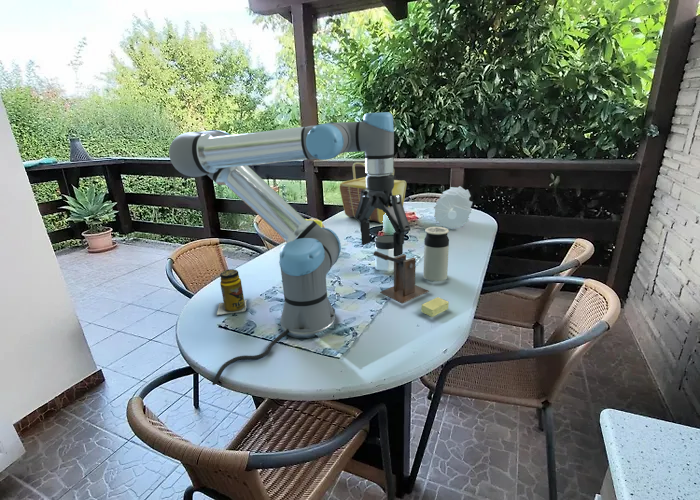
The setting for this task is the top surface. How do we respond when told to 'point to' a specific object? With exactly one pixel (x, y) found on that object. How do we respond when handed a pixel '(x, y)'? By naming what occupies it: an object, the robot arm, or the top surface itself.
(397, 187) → the picnic basket
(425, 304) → the butter
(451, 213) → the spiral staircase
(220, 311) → the condiment
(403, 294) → the wooden lever stand
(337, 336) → the top surface
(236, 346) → the top surface
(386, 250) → the jar
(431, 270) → the travel mug
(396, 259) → the lever
